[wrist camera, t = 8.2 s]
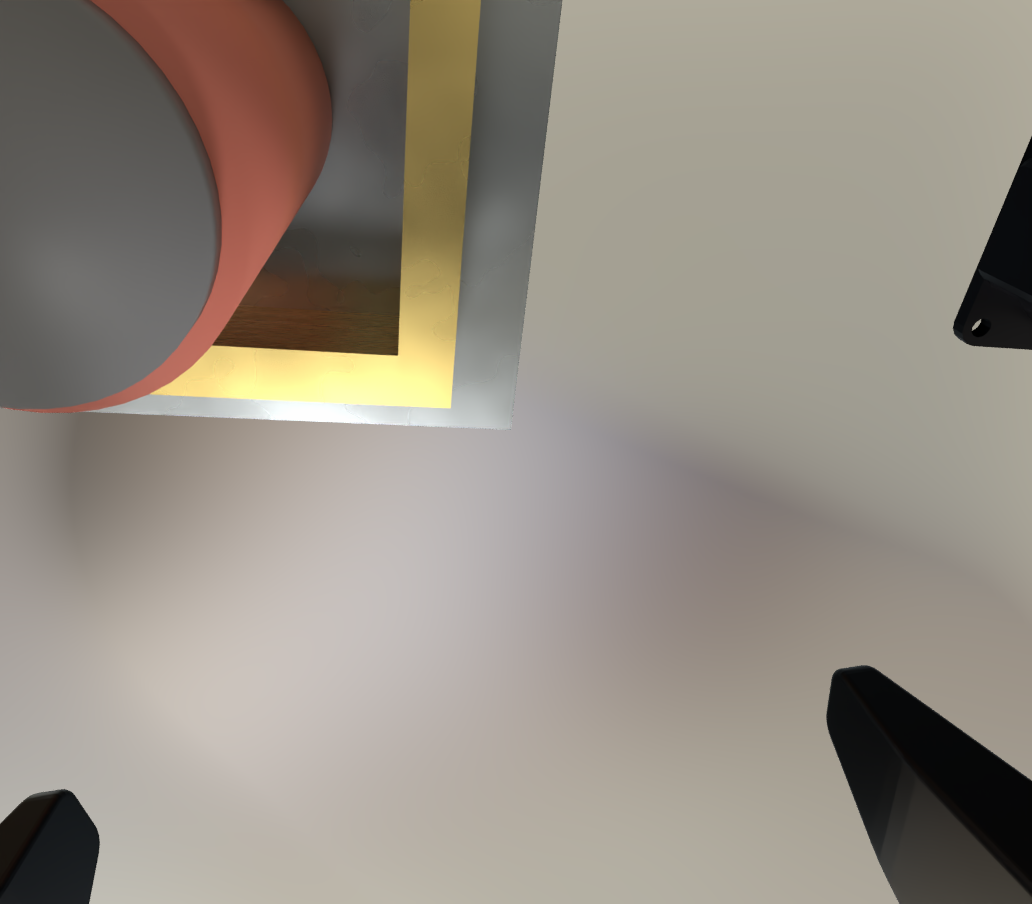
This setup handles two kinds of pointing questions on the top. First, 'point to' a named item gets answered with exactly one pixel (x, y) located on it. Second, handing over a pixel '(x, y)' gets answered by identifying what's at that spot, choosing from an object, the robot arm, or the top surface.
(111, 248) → the oil can
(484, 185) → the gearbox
